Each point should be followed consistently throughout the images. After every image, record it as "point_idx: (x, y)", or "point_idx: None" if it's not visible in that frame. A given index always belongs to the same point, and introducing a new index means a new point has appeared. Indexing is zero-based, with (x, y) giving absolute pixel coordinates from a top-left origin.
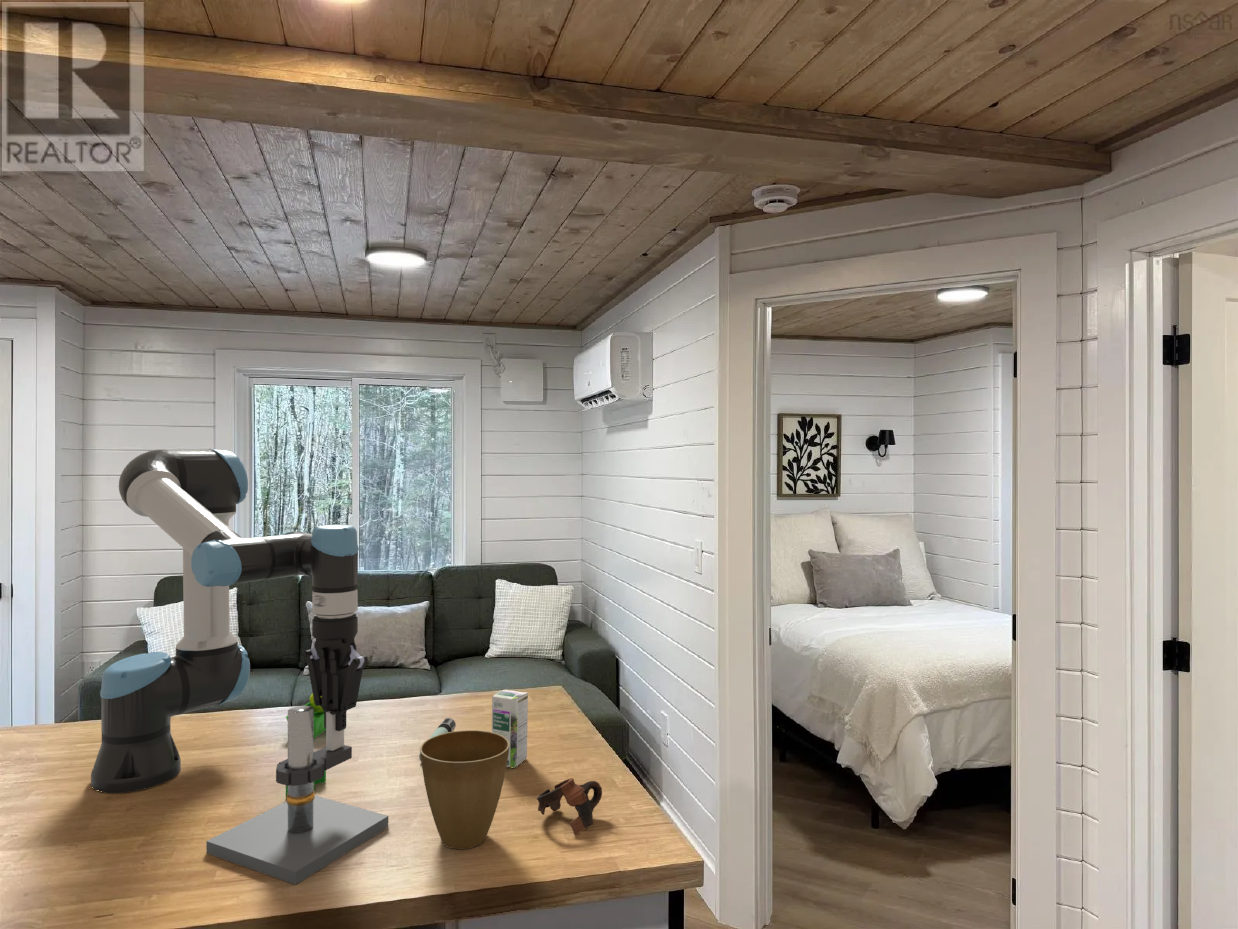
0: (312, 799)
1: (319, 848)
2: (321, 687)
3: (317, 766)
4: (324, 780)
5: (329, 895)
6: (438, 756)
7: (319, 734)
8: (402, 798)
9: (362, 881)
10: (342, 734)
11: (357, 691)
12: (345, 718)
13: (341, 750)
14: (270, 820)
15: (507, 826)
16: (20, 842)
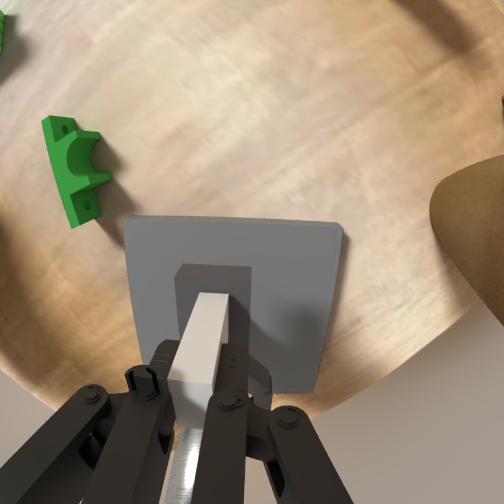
0: (249, 351)
1: (303, 351)
2: (79, 473)
3: (264, 401)
4: (97, 137)
5: (359, 376)
6: (490, 212)
7: (1, 42)
8: (286, 113)
9: (380, 345)
10: (224, 322)
11: (339, 490)
12: (247, 378)
13: (243, 315)
14: (163, 321)
15: (481, 154)
16: (22, 384)
